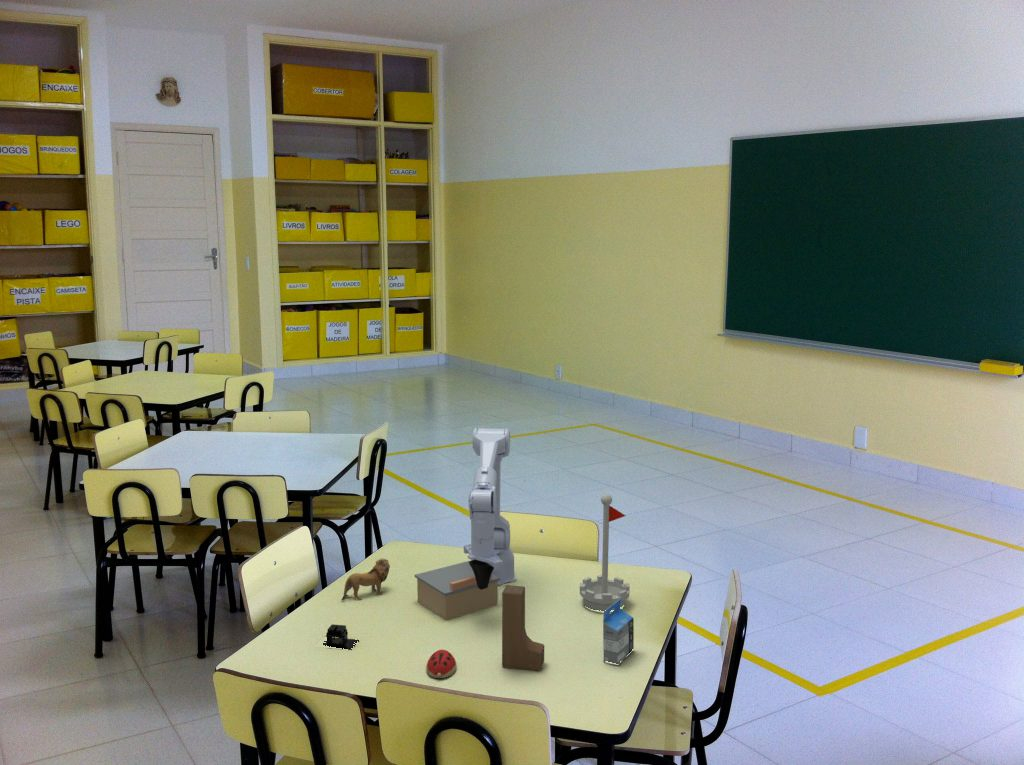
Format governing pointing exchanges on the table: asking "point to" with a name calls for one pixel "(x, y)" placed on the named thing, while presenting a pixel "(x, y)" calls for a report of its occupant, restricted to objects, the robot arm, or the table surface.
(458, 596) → the box
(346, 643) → the black piece
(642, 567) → the table surface
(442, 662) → the ladybug figurine
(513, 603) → the wooden block
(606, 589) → the flag stand
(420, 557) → the table surface
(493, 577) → the sliding lid
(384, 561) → the lion figurine
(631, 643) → the label tape box
